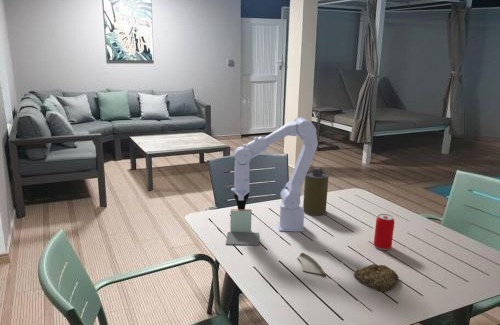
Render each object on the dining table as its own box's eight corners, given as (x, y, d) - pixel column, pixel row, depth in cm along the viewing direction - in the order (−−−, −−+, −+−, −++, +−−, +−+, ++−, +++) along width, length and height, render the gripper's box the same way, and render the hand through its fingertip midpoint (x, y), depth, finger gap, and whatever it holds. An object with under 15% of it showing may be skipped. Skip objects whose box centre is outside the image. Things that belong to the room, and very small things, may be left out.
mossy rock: (381, 296, 117) (383, 281, 115) (348, 277, 126) (349, 262, 125) (406, 282, 124) (409, 268, 123) (373, 265, 134) (375, 251, 132)
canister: (322, 217, 171) (325, 172, 166) (299, 213, 175) (301, 169, 170) (329, 209, 180) (332, 166, 175) (306, 205, 185) (309, 163, 179)
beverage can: (392, 245, 147) (396, 215, 144) (390, 252, 142) (394, 221, 139) (374, 241, 150) (378, 211, 147) (372, 248, 144) (375, 217, 141)
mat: (258, 233, 154) (258, 232, 154) (259, 245, 145) (259, 244, 145) (227, 232, 154) (227, 231, 154) (225, 244, 145) (225, 243, 145)
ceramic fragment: (326, 277, 126) (327, 266, 125) (313, 281, 123) (314, 270, 123) (301, 258, 138) (302, 248, 137) (289, 261, 135) (289, 251, 135)
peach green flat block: (251, 230, 157) (251, 209, 154) (251, 233, 155) (251, 211, 152) (230, 230, 157) (230, 208, 154) (230, 232, 155) (230, 210, 153)
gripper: (232, 172, 160) (232, 204, 163) (230, 183, 146) (229, 218, 149) (250, 172, 160) (249, 204, 163) (249, 184, 146) (248, 218, 149)
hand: (241, 211), depth 156 cm, fingers closed
